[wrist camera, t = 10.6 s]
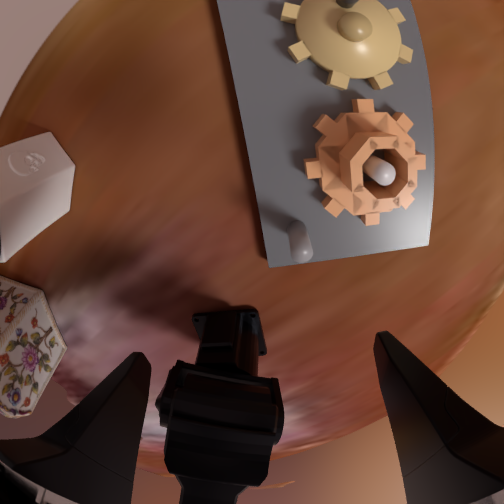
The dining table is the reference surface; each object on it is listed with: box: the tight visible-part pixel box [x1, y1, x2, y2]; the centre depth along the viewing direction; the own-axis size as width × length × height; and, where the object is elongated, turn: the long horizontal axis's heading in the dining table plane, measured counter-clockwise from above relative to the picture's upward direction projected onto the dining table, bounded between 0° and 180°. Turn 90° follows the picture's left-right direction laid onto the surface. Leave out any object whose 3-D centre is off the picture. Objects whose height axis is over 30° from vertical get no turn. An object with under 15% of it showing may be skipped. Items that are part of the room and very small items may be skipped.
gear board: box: [217, 0, 434, 268], centre depth 14 cm, size 22×14×4 cm, turn 10°
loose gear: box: [303, 99, 426, 226], centre depth 15 cm, size 9×9×4 cm
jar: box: [0, 132, 75, 263], centre depth 14 cm, size 9×8×12 cm
